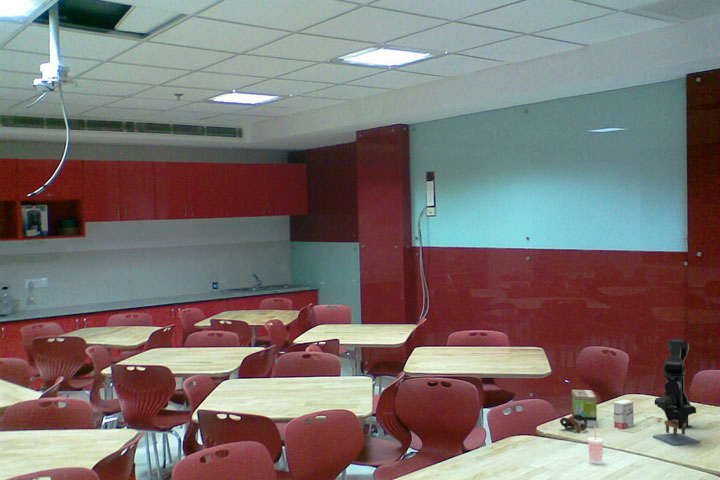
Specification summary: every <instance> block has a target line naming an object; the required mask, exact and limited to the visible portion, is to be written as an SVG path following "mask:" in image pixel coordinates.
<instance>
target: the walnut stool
mask: <svg viewBox="0 0 720 480" xmlns="http://www.w3.org/2000/svg"><path fill="white" fill-rule="evenodd" d="M663 422H664V425H665V434H670V427H671V428H673V429H672V430H673V431H672V433H673V435H674V436H677V433H678V429H680V428H679V420H664V421H663ZM685 427H686V423H684V425H683V426H682V428H681V434H682V435H685V436H686V428H685Z"/></svg>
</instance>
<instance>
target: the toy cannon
mask: <svg viewBox="0 0 720 480" xmlns="http://www.w3.org/2000/svg"><path fill="white" fill-rule="evenodd" d="M576 417H578V418H579V419H580V420H583V421H584V422H585V424H581V426H579V423H578V422H577V421H575V418H576ZM559 423H560V425H561V426H562V427H564V429H565V430H567V429H568V428H569V427H571V428H576V433H578V434H580V433H581V431H585V430H586V429H588V428H587V420H586V419H585V418H584V417H583V416H581V415H578V414H573V415H572V414H571V416H568V417H561V418H560V419H559ZM575 426H576V427H575Z"/></svg>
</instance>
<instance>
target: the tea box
mask: <svg viewBox="0 0 720 480" xmlns="http://www.w3.org/2000/svg"><path fill="white" fill-rule="evenodd" d="M597 404H598V402H597V396H596V395H595V393H594V391H593V390H592V389H591V390H590V389H571V416H572V415H573V414H578V415H581V416H583V417H584V418H585V419H586V420H587V428H586V429H588V428H590V429H591V428H592V429H593V428H594V429H595V427H596V428H597V427H598V423H597V420H598V417H597V414H598V413H597V412H598V411H597V410H598V407H597ZM575 421H577V422H578V423H579V426H581V424H585V422H584V421H583V420H580V419H579V418H578V417H576V418H575ZM574 428H577V427H576V426H575V427H574Z"/></svg>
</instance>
